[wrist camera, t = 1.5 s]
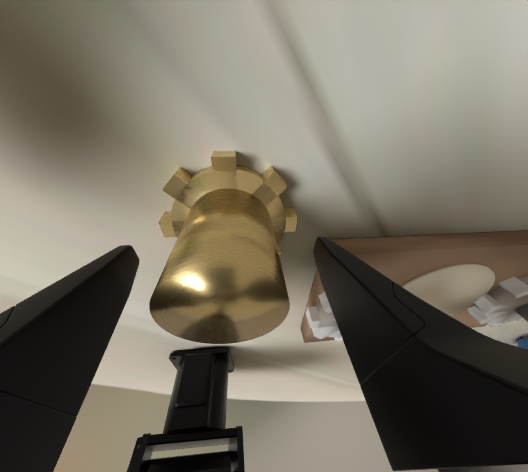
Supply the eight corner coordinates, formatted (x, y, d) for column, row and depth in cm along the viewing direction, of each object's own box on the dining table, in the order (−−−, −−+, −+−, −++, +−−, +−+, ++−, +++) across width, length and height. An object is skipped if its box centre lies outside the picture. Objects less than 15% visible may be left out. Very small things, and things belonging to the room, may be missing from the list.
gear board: (476, 312, 21) (522, 356, 18) (294, 328, 20) (305, 379, 16) (588, 227, 14) (703, 272, 11) (314, 240, 12) (342, 299, 9)
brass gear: (287, 258, 13) (311, 349, 9) (183, 263, 13) (148, 365, 8) (300, 150, 9) (366, 216, 4) (143, 151, 8) (14, 228, 4)
